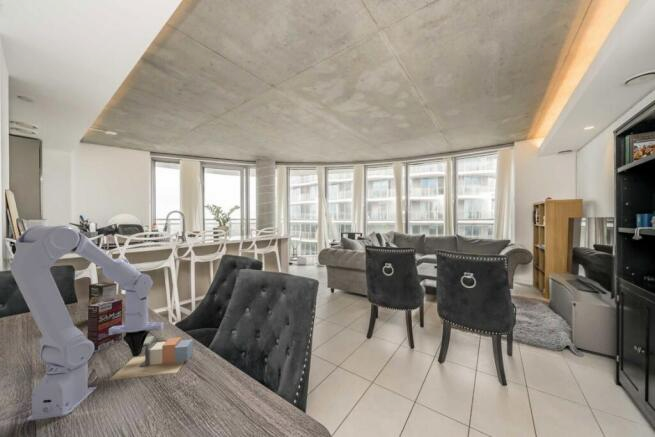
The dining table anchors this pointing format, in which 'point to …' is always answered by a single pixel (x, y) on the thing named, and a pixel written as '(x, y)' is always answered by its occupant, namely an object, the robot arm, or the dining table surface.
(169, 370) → the shelf board
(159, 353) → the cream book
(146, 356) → the bookend
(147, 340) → the flat book
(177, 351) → the blue-grey block
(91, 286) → the coffee box
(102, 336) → the supplement box
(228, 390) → the dining table surface
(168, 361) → the terracotta cube
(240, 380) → the dining table surface
